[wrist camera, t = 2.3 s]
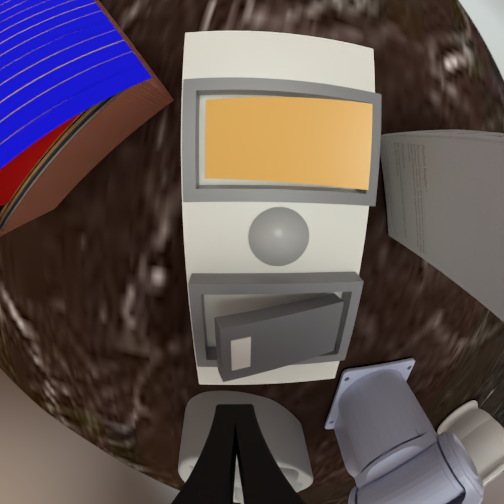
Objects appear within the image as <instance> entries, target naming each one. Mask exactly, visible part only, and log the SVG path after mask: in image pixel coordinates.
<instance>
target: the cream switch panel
mask: <svg viewBox="0 0 504 504" xmlns="http://www.w3.org/2000/svg"><path fill="white" fill-rule="evenodd" d="M241 97H302V98H320V99H334V100H344V101H354V102H362V103H370V104H373V105H372V144H371V162H370V175H369V187H368V190H362V189H354V188H345V187H336V186H326V185H315V184H304V183H291V182H276V181H259V180H238V179H205V119H206V100H209V99H222V98H241ZM380 140H381V94H378V93H375V75H374V53H373V49H372V48H368V47H364V46H360V45H355V44H351V43H346V42H341V41H336V40H331V39H325V38H319V37H312V36H305V35H297V34H288V33H277V32H262V31H204V32H189V33H185V43H184V58H183V76H182V103H181V184H182V213H183V233H184V249H185V263H186V276H187V288H188V298H189V308H190V318H191V327H192V335H193V344H194V351H195V359H196V366H197V373H198V380H199V384H207V385H250V384H275V383H291V382H303V381H314V380H324V379H332V378H335V375H336V372H337V368H338V365H339V361H342V360H345V357H346V354H347V350H348V346H349V343H350V339H351V335H352V331H353V327H354V323H355V319H356V314H357V310H358V306H359V301H360V296H361V292H362V287H363V282H364V281H363V280H362V279H361V278H360V277H359V272H360V266H361V260H362V254H363V247H364V241H365V234H366V226H367V219H368V210H369V206H375V204H376V195H377V184H378V173H379V159H380ZM332 293H334V294H336V295H337V296H338V297H339V298H341V299H342V300H343V301H344V304H343V309H342V314H341V319H340V324H339V329H338V333H337V338H336V342H335V346H334V350H333V351H331V352H329V353H326V354H323V355H320V356H317V357H314V358H311V359H307V360H304V361H301V362H298V363H295V364H291V365H288V366H284V367H281V368H277V369H274V370H270V371H267V372H263V373H259V374H255V375H251V376H247V377H243V378H239V379H235V380H230V381H226V382H223V381H222V379H221V376H220V374H219V372H218V366H217V353H216V338H215V322H214V317H220V316H226V315H231V314H237V313H242V312H248V311H253V310H258V309H263V308H268V307H273V306H278V305H283V304H288V303H292V302H297V301H302V300H306V299H311V298H315V297H319V296H324V295H328V294H332Z"/></svg>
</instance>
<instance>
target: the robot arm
mask: <svg viewBox="0 0 504 504" xmlns="http://www.w3.org/2000/svg"><path fill="white" fill-rule="evenodd" d="M414 363H415V360H414V359H413V358H409V359H404V360H399V361H394V362H389V363H383V364H377V365H371V366H365V367H358V368H351V369H346V370H344V371H343V372H342V375H341V378H340V381H339V384H338V387H337V391H336V394H335V397H334V400H333V403H332V405H331V408H330V411H329V414H328V417H327V420H326V422H325V425H324V427H325V429H333V428H334V431H335V435H336V438H337V441H338V444H339V447H340V451H341V454H342V457H343V461H344V464H345V467H346V469H347V471H348V472H349V473H350V474H351V475H352V476H353V477H354V478H355V481H356V485H357V486H355V487H354V488H353V489H352V490H351V492H350V495H349V500H348V504H481V502H482V500H483V492H484V486H483V482H482V480H481V478H480V476H479V474H478V471H477V469H476V467H475V464H474V462H473V460H472V459H471V457H470V455H469V453H468V452H467V450H466V448H465V447H464V445H463V444H462V442H461V441H460V440H459V438H458V437H457V436H456V435H455V434H454V433H452V432H448V433H447V432H442V433H441V434H440V435H438V434H437V433H436V432H435V430H434V428H433V426H432V425H431V423H430V421H429V419H428V418H427V416H426V414H425V413H424V411H423V409H422V407H421V406H420V404H419V402H418V401H417V399H416V397H415V396H414V394H413V392H412V391H411V389H410V387H409V386H408V384H407V382H406V380H407V378H408V376H409V374H410V372H411V370H412V368H413V366H414ZM236 454H237V460H238V467H239V474H240V480H241V487H242V493H243V500H244V504H306V503H305V502H304V501H303V500H302V499H301V497H300V496H299V495H298V494H297V492H296V491H295V490H294V489H293V487H292V486H291V484H290V483H289V482H288V480H287V479H286V477H285V476H284V474H283V473H282V471H281V469H280V468H279V466H278V464H277V463H276V461H275V459H274V457H273V455H272V454H271V452H270V450H269V447H268V445H267V443H266V441H265V439H264V437H263V434H262V432H261V429H260V427H259V424H258V421H257V418H256V414H255V410H254V406H253V405H252V404H218V405H217V406H216V409H215V415H214V419H213V422H212V426H211V429H210V432H209V435H208V437H207V440H206V442H205V445H204V447H203V450H202V452H201V454H200V456H199V458H198V460H197V462H196V464H195V466H194V468H193V470H192V472H191V474H190V476H189V477H188V479H187V481H186V483H185V484H184V486H183V487H182V489H181V490H180V492H179V493H178V495H177V496H176V498H175V499H174V501H173V502H172V503H171V504H233V496H234V482H235V468H236Z"/></svg>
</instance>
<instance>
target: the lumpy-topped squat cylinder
mask: <svg viewBox="0 0 504 504" xmlns="http://www.w3.org/2000/svg"><path fill="white" fill-rule="evenodd" d="M218 404H252V405H253V406H254V410H255V414H256V418H257V421H258V424H259V427H260V429H261V432H262V434H263V437H264V439H265V441H266V443H267V445H268V447H269V450H270V452H271V454H272V455H273V457H274V459H275V461H276V463H277V464H278V466H279V468H280V469H281V471H282V473H283V474H284V476H285V477H286V479H287V480H288V482H289V483H290V484H291V486H292V487H293V489H294V490H295V491H296V492H298V491H300V490H303V489H305V488H307V487H309V486H310V485H311V484H312V482H313V474H312V470H311V465H310V461H309V456H308V452H307V447H306V443H305V438H304V434H303V429H302V425H301V423H300V422H299V420H298V419H297V418H296V417H295V416H294V415H293V414H292V413H291V412H289V411H288V410H287V409H286V408H284V407H283V406H281V405H280V404H278V403H277V402H275V401H273V400H271V399H269V398H266V397H262V396H258V395H253V394H249V393H244V392H237V391H209V392H204V393H200V394H198V395H196V396H194V397H193V398H191V399H190V400H189V402H188V403H187V406H186V409H185V416H184V424H183V431H182V439H181V447H180V456H179V465H178V472H179V475H180V476H181V478H182V479H183V480H184V482H185V483H186V481H187V479H188V477H189V476H190V474H191V472H192V470H193V468H194V466H195V464H196V462H197V460H198V458H199V456H200V454H201V452H202V450H203V447H204V445H205V442H206V440H207V437H208V435H209V432H210V429H211V426H212V422H213V419H214V415H215V409H216V406H217V405H218ZM233 502H238V503H241V504H244V500H243V493H242V487H241V480H240V474H239V467H238V460H237V454H236V468H235V482H234V496H233Z"/></svg>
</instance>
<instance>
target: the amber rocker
mask: <svg viewBox="0 0 504 504" xmlns="http://www.w3.org/2000/svg"><path fill="white" fill-rule="evenodd" d="M372 105H373V104H370V103H362V102H354V101H344V100H334V99H320V98H302V97H241V98H222V99H209V100H206V119H205V179H238V180H259V181H276V182H291V183H304V184H315V185H326V186H336V187H345V188H354V189H362V190H368V187H369V175H370V162H371V144H372Z"/></svg>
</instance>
